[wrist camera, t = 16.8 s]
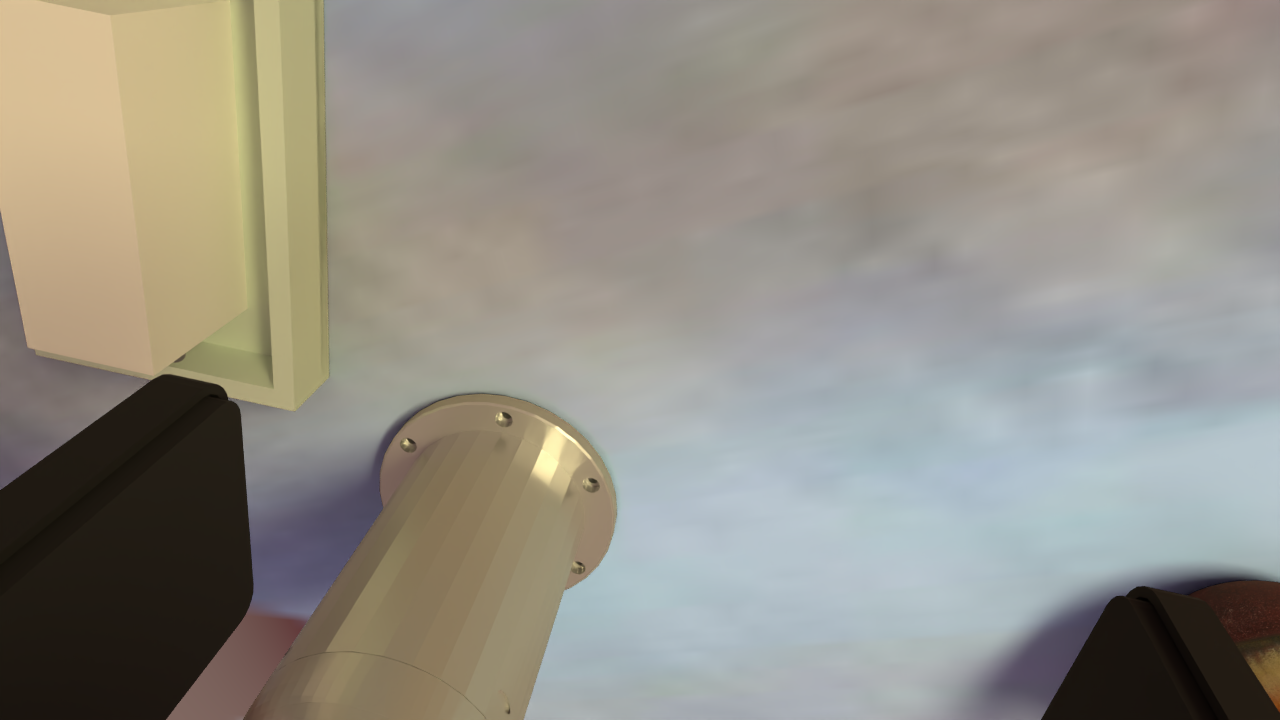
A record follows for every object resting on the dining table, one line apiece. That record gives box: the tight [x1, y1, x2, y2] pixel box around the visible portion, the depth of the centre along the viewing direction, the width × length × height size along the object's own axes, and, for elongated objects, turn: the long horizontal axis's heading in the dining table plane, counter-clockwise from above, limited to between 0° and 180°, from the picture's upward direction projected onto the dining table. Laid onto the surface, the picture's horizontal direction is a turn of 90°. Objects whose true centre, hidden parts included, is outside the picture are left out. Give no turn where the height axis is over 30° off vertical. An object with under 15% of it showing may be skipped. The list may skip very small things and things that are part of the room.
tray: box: [35, 0, 329, 411], centre depth 36 cm, size 22×13×4 cm, turn 171°
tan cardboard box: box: [0, 0, 248, 376], centre depth 35 cm, size 15×6×7 cm, turn 170°
